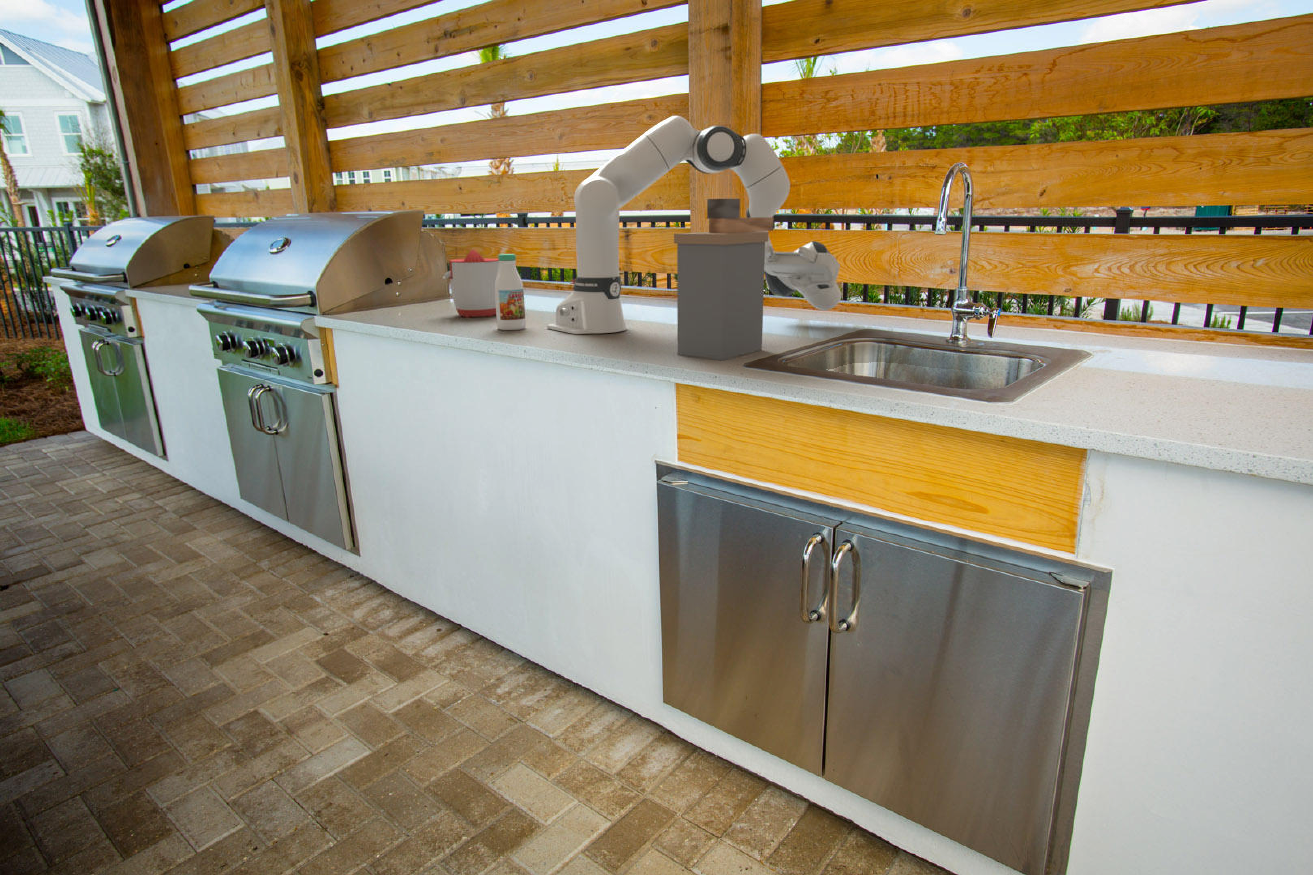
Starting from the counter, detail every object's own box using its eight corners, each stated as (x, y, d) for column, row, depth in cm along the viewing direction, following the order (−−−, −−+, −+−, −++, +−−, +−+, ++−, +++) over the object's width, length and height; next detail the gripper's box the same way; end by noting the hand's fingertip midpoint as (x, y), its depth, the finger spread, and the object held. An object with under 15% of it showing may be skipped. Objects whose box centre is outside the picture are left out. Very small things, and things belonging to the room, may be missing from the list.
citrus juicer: (445, 313, 243) (439, 249, 237) (500, 311, 248) (496, 247, 242) (447, 320, 228) (441, 251, 223) (506, 317, 233) (502, 250, 228)
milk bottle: (491, 330, 208) (486, 254, 203) (507, 326, 215) (502, 253, 210) (516, 331, 206) (511, 255, 200) (531, 327, 212) (526, 253, 207)
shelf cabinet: (674, 354, 170) (674, 233, 163) (717, 344, 183) (719, 231, 175) (722, 361, 162) (724, 234, 155) (764, 349, 175) (768, 232, 167)
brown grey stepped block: (707, 233, 165) (707, 199, 163) (756, 230, 180) (757, 199, 178) (726, 233, 162) (726, 198, 160) (774, 230, 177) (775, 199, 175)
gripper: (775, 262, 204) (751, 237, 193) (846, 264, 191) (825, 237, 181) (768, 284, 203) (744, 260, 192) (839, 287, 191) (818, 262, 180)
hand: (784, 249), depth 186 cm, fingers open, 8 cm apart
